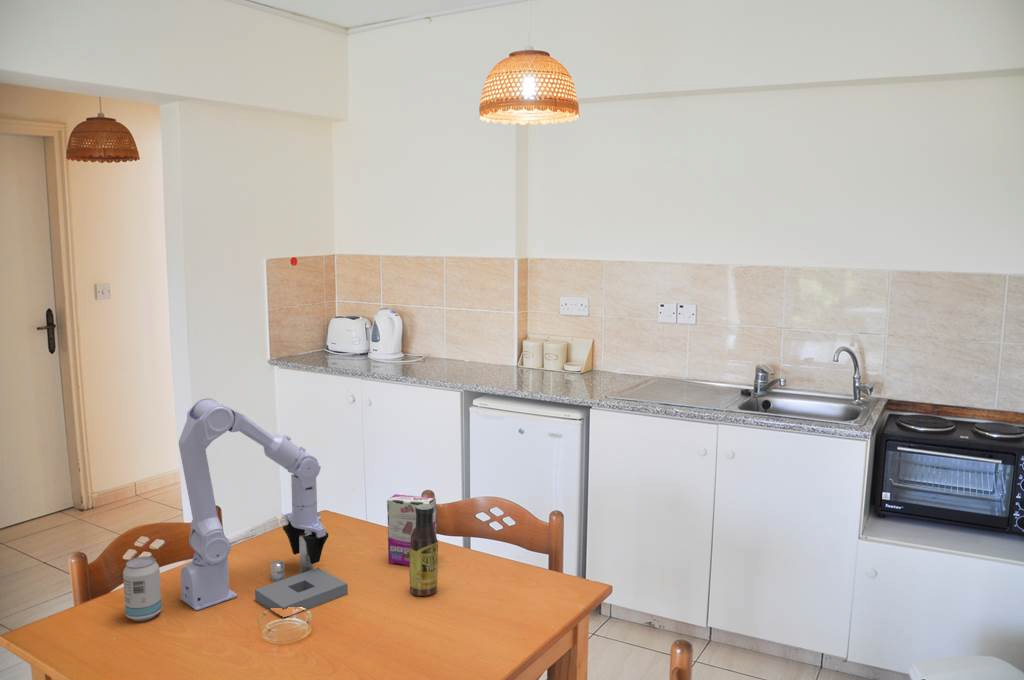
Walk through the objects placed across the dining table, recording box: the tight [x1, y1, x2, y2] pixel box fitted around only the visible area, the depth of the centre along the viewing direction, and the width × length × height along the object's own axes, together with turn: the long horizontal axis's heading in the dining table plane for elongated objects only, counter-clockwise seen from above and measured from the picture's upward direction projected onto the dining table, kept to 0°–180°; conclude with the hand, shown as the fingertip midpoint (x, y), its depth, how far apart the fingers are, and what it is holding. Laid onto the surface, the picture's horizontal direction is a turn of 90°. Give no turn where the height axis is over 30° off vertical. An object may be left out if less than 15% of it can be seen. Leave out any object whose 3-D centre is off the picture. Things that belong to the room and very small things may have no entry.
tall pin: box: [299, 533, 314, 574], centre depth 191 cm, size 3×3×9 cm
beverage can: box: [122, 555, 163, 622], centre depth 168 cm, size 7×7×12 cm
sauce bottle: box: [409, 504, 439, 597], centre depth 180 cm, size 6×6×20 cm
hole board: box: [254, 567, 349, 610], centre depth 178 cm, size 16×12×2 cm
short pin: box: [270, 559, 286, 583], centre depth 187 cm, size 3×3×4 cm
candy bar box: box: [386, 493, 437, 567], centre depth 195 cm, size 11×5×16 cm, turn 73°
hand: (306, 557), depth 191 cm, fingers open, 7 cm apart
